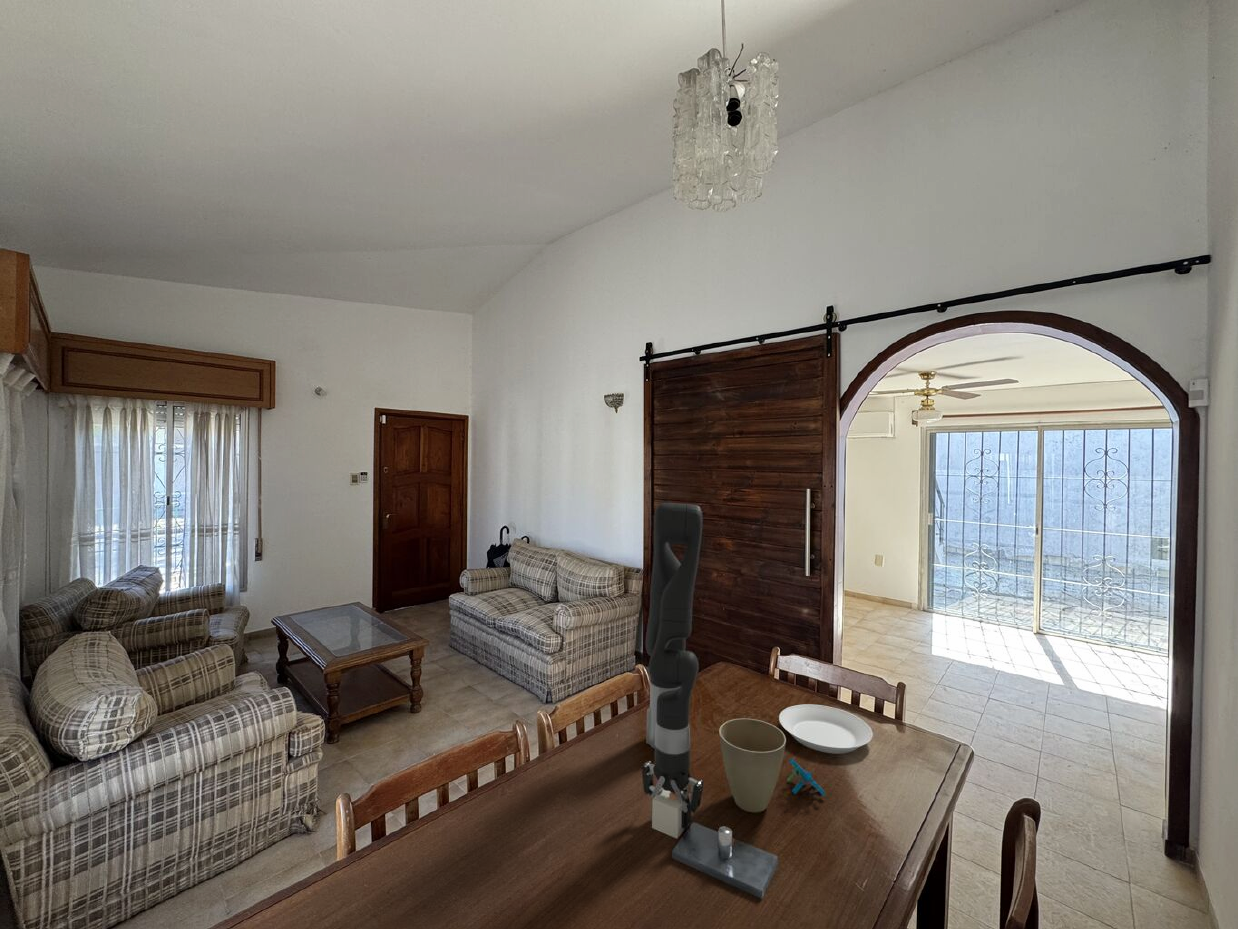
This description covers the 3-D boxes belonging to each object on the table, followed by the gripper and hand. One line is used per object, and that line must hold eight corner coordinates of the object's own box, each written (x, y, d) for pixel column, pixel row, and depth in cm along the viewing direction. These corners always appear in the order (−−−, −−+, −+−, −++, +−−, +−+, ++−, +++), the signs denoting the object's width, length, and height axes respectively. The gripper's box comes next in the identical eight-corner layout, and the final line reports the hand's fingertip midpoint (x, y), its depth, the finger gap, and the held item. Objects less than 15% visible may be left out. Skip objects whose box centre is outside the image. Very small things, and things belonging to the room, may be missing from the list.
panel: (672, 858, 106) (672, 828, 106) (693, 829, 115) (693, 801, 115) (762, 899, 97) (762, 866, 97) (777, 864, 105) (778, 833, 105)
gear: (834, 798, 123) (803, 767, 124) (818, 819, 123) (786, 787, 123) (813, 776, 134) (785, 747, 135) (798, 795, 133) (769, 766, 134)
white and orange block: (652, 828, 115) (652, 795, 115) (664, 812, 120) (665, 781, 120) (677, 838, 112) (677, 805, 112) (689, 822, 117) (690, 790, 117)
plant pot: (705, 791, 128) (706, 725, 128) (756, 777, 134) (757, 714, 134) (743, 832, 114) (745, 757, 114) (798, 814, 120) (800, 743, 120)
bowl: (877, 731, 158) (878, 718, 158) (864, 772, 137) (865, 758, 137) (791, 708, 172) (791, 697, 172) (767, 743, 151) (768, 730, 151)
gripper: (634, 740, 116) (633, 818, 117) (696, 761, 109) (694, 844, 109) (651, 726, 123) (650, 799, 123) (710, 745, 115) (709, 823, 115)
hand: (671, 820), depth 116 cm, fingers closed on white and orange block, 6 cm apart
